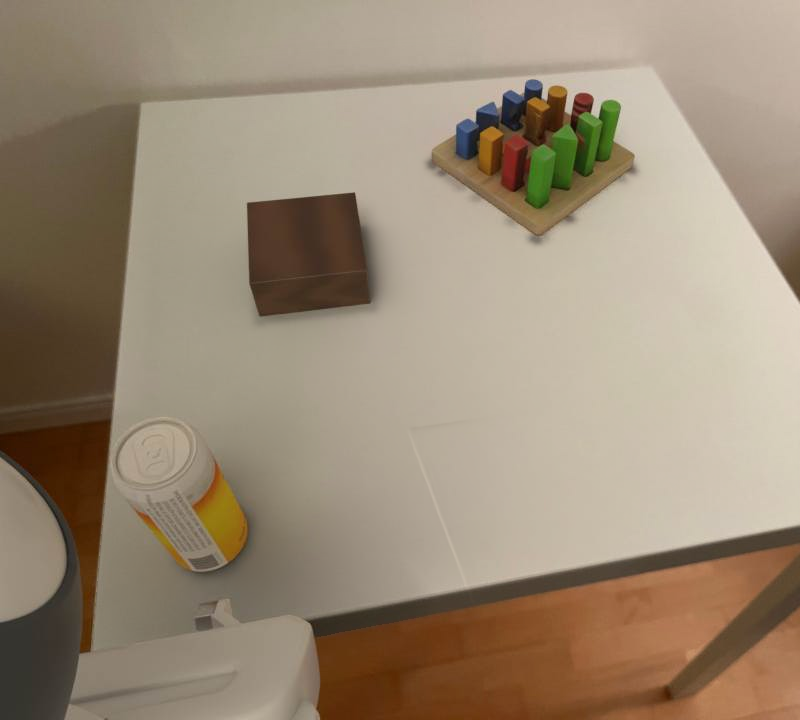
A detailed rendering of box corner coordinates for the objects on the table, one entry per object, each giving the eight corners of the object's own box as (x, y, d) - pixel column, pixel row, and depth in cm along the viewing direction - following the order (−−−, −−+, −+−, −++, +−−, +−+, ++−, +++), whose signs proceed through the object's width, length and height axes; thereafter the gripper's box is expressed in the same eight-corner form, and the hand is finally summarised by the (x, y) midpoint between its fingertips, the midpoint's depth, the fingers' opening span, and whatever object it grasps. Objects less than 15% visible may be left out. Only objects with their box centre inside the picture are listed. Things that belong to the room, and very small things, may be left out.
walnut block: (259, 316, 73) (249, 283, 69) (256, 237, 79) (246, 202, 75) (370, 303, 75) (367, 270, 71) (359, 226, 81) (355, 192, 77)
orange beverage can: (241, 494, 62) (194, 400, 50) (256, 560, 59) (210, 477, 47) (167, 517, 61) (99, 426, 48) (178, 586, 58) (109, 507, 45)
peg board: (527, 99, 95) (535, 38, 88) (634, 166, 89) (651, 106, 82) (429, 160, 88) (429, 98, 81) (538, 238, 81) (548, 178, 74)
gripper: (304, 698, 26) (318, 538, 39) (-378, 837, 22) (-107, 611, 36) (330, 852, 27) (335, 646, 40) (-314, 1005, 24) (-75, 726, 37)
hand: (123, 630), depth 38 cm, fingers open, 8 cm apart
